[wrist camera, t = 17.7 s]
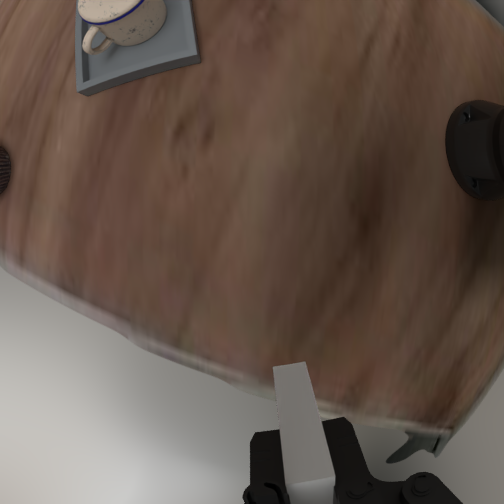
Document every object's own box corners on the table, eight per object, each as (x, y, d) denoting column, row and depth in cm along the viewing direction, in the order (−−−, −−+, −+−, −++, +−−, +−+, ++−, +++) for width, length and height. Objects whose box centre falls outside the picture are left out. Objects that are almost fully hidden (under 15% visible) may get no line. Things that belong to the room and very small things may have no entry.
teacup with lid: (132, -12, 29) (102, -53, 18) (182, 5, 30) (162, -43, 19) (82, 55, 31) (36, 28, 20) (130, 76, 33) (88, 46, 21)
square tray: (187, -26, 29) (184, -37, 26) (200, 62, 33) (197, 54, 30) (85, 8, 30) (76, 0, 27) (87, 96, 34) (76, 92, 31)
